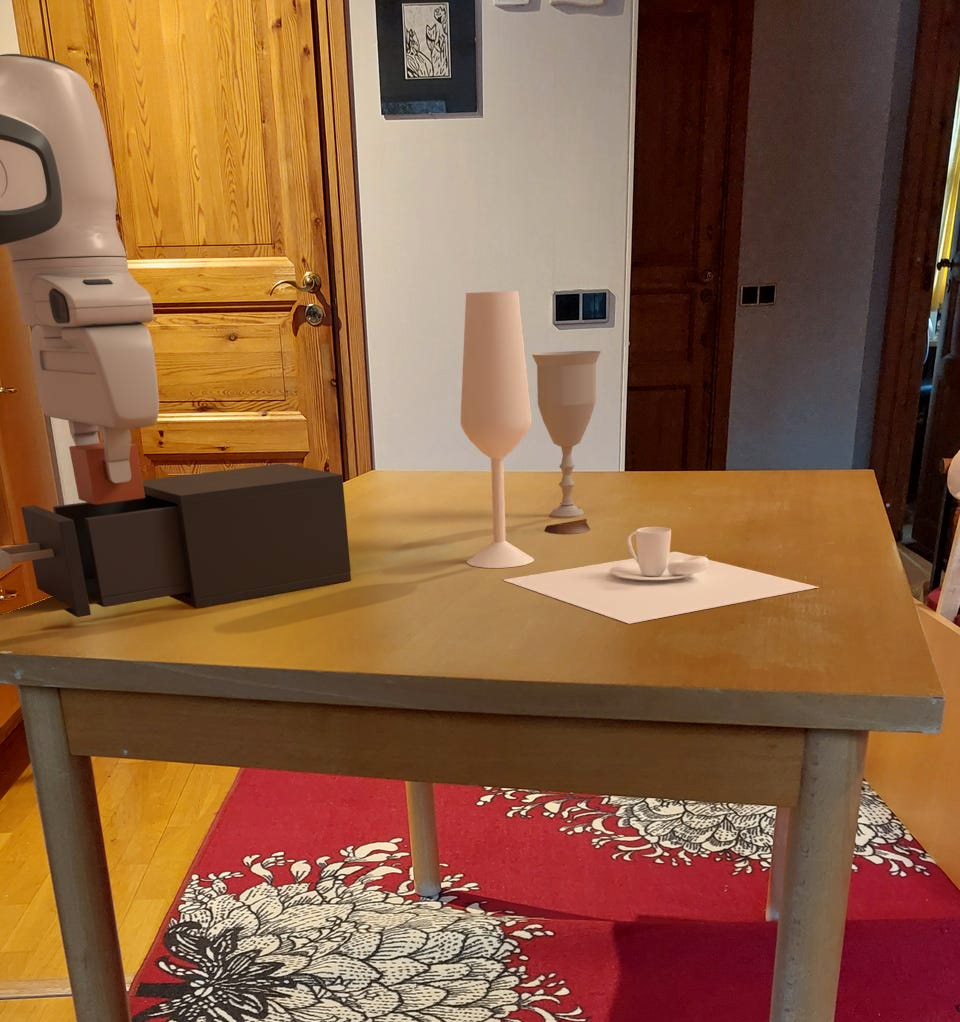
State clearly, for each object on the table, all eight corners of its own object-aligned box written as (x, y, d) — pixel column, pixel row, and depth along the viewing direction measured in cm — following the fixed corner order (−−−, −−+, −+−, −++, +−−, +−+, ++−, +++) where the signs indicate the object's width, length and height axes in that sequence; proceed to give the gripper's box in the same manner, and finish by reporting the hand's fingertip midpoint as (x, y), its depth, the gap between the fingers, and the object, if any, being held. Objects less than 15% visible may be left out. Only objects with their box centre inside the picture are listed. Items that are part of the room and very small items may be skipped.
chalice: (580, 521, 133) (580, 350, 126) (611, 530, 128) (613, 351, 120) (523, 528, 131) (520, 354, 123) (552, 538, 125) (550, 355, 117)
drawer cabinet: (196, 608, 102) (179, 495, 98) (146, 586, 111) (129, 481, 107) (351, 580, 110) (342, 474, 106) (293, 561, 119) (282, 463, 115)
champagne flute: (541, 554, 118) (537, 290, 107) (523, 568, 112) (517, 290, 101) (478, 552, 119) (468, 293, 109) (457, 566, 114) (444, 294, 103)
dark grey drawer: (16, 628, 95) (-5, 530, 91) (-18, 605, 103) (-39, 514, 99) (237, 589, 105) (226, 499, 101) (190, 570, 113) (178, 487, 109)
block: (95, 505, 98) (85, 450, 96) (78, 499, 101) (68, 446, 100) (145, 498, 100) (136, 444, 98) (127, 493, 104) (118, 441, 102)
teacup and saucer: (721, 578, 105) (723, 531, 103) (649, 591, 101) (650, 543, 100) (662, 562, 112) (663, 518, 110) (592, 573, 108) (592, 529, 107)
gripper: (1, 304, 100) (35, 472, 106) (77, 299, 85) (111, 495, 91) (74, 301, 103) (103, 464, 109) (160, 295, 88) (187, 485, 94)
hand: (107, 478), depth 100 cm, fingers closed on block, 4 cm apart
